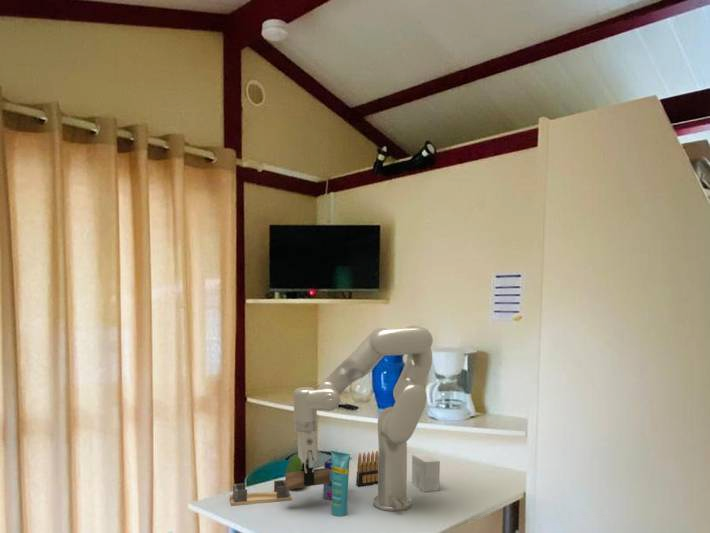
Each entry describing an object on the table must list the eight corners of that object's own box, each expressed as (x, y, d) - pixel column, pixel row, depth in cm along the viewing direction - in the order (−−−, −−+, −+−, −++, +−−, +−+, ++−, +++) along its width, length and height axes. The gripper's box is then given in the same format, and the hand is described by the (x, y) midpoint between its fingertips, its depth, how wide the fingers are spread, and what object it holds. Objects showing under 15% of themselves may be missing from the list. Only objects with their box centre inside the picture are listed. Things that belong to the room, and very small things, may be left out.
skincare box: (440, 490, 194) (440, 460, 195) (424, 492, 192) (424, 462, 192) (426, 481, 204) (426, 452, 204) (411, 482, 202) (411, 454, 202)
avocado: (311, 488, 194) (312, 454, 194) (293, 493, 189) (294, 458, 189) (298, 482, 200) (299, 449, 200) (280, 487, 194) (281, 453, 195)
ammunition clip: (381, 481, 202) (381, 449, 203) (384, 483, 201) (384, 450, 201) (355, 485, 198) (356, 452, 198) (358, 487, 196) (358, 453, 197)
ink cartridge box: (337, 501, 182) (338, 457, 183) (322, 498, 184) (323, 455, 185) (348, 491, 192) (348, 449, 193) (333, 489, 194) (334, 447, 194)
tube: (325, 513, 172) (326, 451, 173) (333, 508, 176) (334, 448, 177) (346, 518, 168) (347, 455, 169) (353, 513, 172) (354, 451, 173)
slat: (329, 483, 178) (329, 470, 178) (287, 489, 173) (287, 476, 174) (327, 479, 181) (326, 467, 181) (285, 485, 177) (285, 473, 177)
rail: (291, 500, 183) (292, 486, 183) (231, 505, 177) (231, 491, 177) (288, 492, 189) (288, 479, 190) (229, 498, 183) (230, 484, 184)
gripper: (322, 430, 171) (325, 489, 170) (311, 419, 187) (313, 473, 186) (299, 433, 169) (301, 493, 168) (290, 421, 185) (291, 476, 184)
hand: (307, 482), depth 177 cm, fingers closed on slat, 3 cm apart
